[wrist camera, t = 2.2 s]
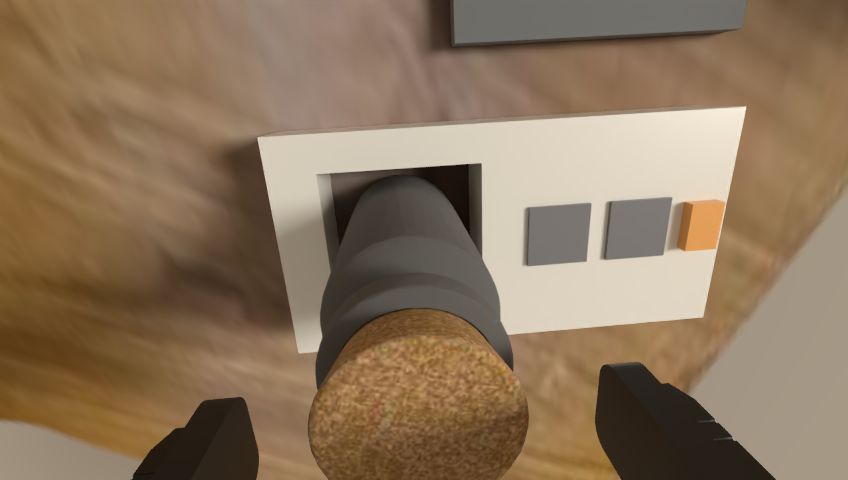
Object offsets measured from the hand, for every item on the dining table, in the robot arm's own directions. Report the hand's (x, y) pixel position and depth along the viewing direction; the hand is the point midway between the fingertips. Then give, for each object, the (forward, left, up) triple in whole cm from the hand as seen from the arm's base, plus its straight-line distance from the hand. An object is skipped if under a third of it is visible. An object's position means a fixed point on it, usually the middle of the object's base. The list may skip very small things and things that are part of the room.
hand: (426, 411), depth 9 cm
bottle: (0, 0, -15) cm, 15 cm away
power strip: (+5, 0, -14) cm, 15 cm away
